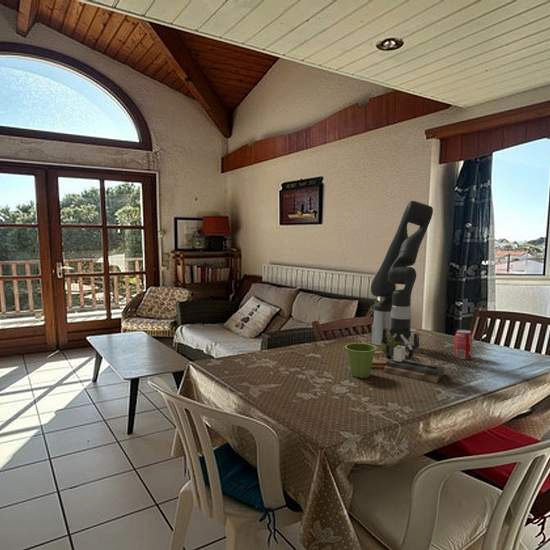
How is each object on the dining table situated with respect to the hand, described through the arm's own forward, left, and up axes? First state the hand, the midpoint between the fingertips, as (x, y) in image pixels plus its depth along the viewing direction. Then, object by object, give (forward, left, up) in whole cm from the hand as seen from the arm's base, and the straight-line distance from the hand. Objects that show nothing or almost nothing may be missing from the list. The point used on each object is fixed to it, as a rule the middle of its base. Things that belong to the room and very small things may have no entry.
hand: (399, 356), depth 159 cm
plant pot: (-10, -15, -6) cm, 19 cm away
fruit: (-8, +16, -6) cm, 19 cm away
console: (+6, 0, -6) cm, 8 cm away
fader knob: (0, 0, -3) cm, 3 cm away
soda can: (+17, +33, -6) cm, 38 cm away
